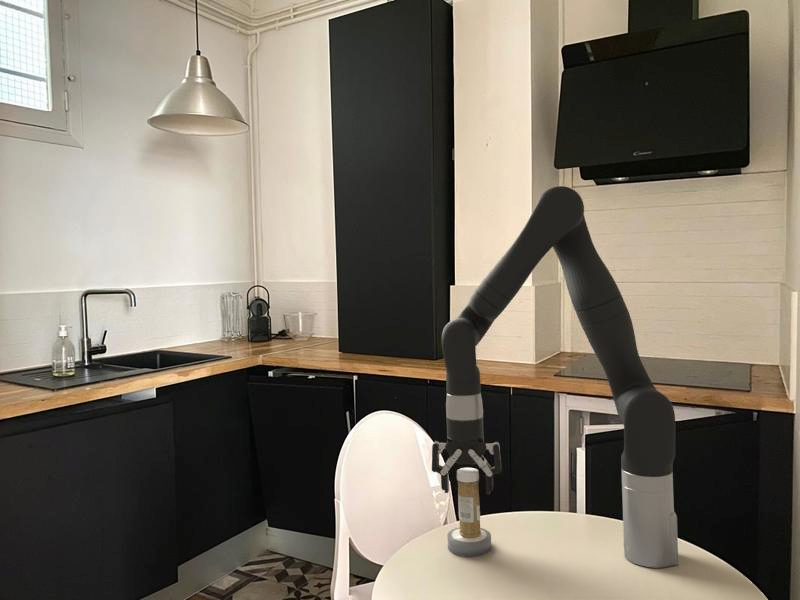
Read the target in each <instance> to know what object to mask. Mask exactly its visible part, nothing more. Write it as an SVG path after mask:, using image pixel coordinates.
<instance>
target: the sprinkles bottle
mask: <svg viewBox="0 0 800 600" xmlns="http://www.w3.org/2000/svg"><path fill="white" fill-rule="evenodd" d="M479 473H480V472H479V470H478V469H477V468H473V467H461V468H459V469H457V470H456V480H457V493H458V494H457V497H458V498H457V501H458V502H457V504H458V519H459V521H458V522H459V527H460V532H459V533H460V535H461V536H463V537H465V538H475V537H478V536H479V535H480V534H481V530H480V528H481V510H480V509H481V508H480V506H481V505H480V494H479V491H480V490H479V481H480V474H479Z"/></svg>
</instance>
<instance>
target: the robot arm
mask: <svg viewBox="0 0 800 600" xmlns="http://www.w3.org/2000/svg"><path fill="white" fill-rule="evenodd" d="M524 225H525V226H524V227H523V228H522V230H521V231H520V233H519V234H518V236H517V237H516V239H515V240H514V241H513V243H512V245H510V247H509V248H508V250H507V251H506V252H505V253H504V254H503V255H502V257H501V258H500V259H499V260H498V261H497V263H496V264H495V265H494V266H493V267H492V268H491V269H490V271H489V272H488V273H487V274H486V276H485V277H484V278H483V280H482V281H480V283H479V285H478V286H477V287H476V288H475V290H474V291H473V293H472V294H471V296H470V297H469V300H468V303H467V304H466V306H465V307H464V308H463V309H462V310H461V312H460V314H459V315H458V316H457V317H456V318H455V319H454V320H453V319H452V320H450V321H449V322H448V323H447V324H446V325H445V326H444V327H443V330H442V333H441V349H442V355H443V361H444V366H445V370H446V374H445V375H446V376H445V377H446V379H445V380H446V381H445V382H446V383H445V385H446V399H445V400H446V401H445V410H446V411H445V412H446V414H445V415H446V436H447V437H446V442H440V441H438V440H434V442H433V443H432V445H431V446H432V447H431V471H432V472H433V473H438V474H439V475H440V484H441V485H440V486H441V489H442V491H444V494H449V491H450V477H449V474H450V473H449V471H450V469H451V468H452V466H454V464H455V463H456V464H458V465H461V466H462V465H469V466H470V465H471V466H474V465H475V464H477V465H478V468H479V469H481V470H482V471H483V472H484V473H485V494H486V495H491V492H493V490H494V476H495V475H499V474H501V473H502V469H503V467H502V457H501V447H500V442H499V441H494V442H493V443H486V441H485V437H484V435H485V433H484V431H485V430H484V408H483V407H484V406H483V398H482V388H481V387H482V386H481V372H480V369H479V366H478V364H477V353H476V347H477V346H478V345H479V343H480V342H481V341H482V339H483V338H484V337H485V335H486V333H487V332H488V331H489V329H490V328H491V326H492V325H493V323H494V322H495V320H496V319H497V318H498V317H499V316H500V315H501V314H502V312H504V310H505V309H506V308H507V307H508V305H509V304H510V303H511V302H512V301H513V299H514V298H515V297H516V295H517V294H518V293H519V291H520V289H521V288H522V287H523V285H524V284H525V283H526V281H527V280H528V279H529V277H530V275H531V274H532V272H533V270H534V269H535V268H536V267H537V266H538V264H539V263H540V262H541V260H542V259H543V258H544V257H545V255H546V254H547V253H548V252H549V251H550V250H551V249H553V251H554V252H555V254H556V256H557V258H558V261H559V264H560V265H561V269H562V273H563V276H564V280H565V285H566V288H567V290H568V294H569V295H568V296H569V298H570V300H571V304H572V306H573V309H574V311H575V314H576V317H577V319H578V321H579V323H580V325H581V328H582V330H583V332H584V334H585V336H586V339H587V340H588V343H589V345H590V346H591V348H592V349H593V352H594V354H595V355H596V357H597V359H598V361H599V363H600V365H601V367H602V369H603V371H604V374H605V376H606V378H607V382H608V385H609V387H610V392H611V395H612V398H613V401H614V407H615V409H616V412H617V416H618V417H619V419H620V420H621V422H622V423H623V441H624V442H623V445H624V446H623V452H622V454H621V457H620V458H621V459H620V460H621V461H620V462H621V463H620V464H621V465H620V466H621V495H622V496H621V497H622V523H623V529H622V530H623V551H624V552H623V554H624V557H625V559H626V560H628V561H629V562H630V563H633V564H635V565H639V566H642V567H647V568H656V569H657V568H658V569H659V568H660V569H661V568H668V567H671V566H679V547H678V546H679V545H678V542H679V541H678V516H677V514H676V512H675V507H674V504H675V503H674V477H673V476H674V473H673V472H674V471H673V469H674V467H673V464H674V460H675V457H676V415H675V413H676V412H675V409H674V406H673V404H672V402H671V400H670V399H669V398H668V397H667V396H666V395H665V394H663V393H662V392H660V391H658V389H657V388H656V387H655V385H654V384H653V382H652V380H651V377H650V376H649V374H648V372H647V371H646V370H647V369H646V368H645V367H644V365H643V363H642V360H641V357H640V354H639V351H638V346H637V339H636V335H635V329H634V325H633V321H632V318H631V314H630V311H629V309H628V307H627V304H626V302H625V300H624V297H623V296H622V293H621V290H620V289H619V287H618V284H617V283H616V281H615V279H614V277H613V275H612V274H611V272H610V271H609V269H608V267H607V266H606V264H605V263H604V261H603V260H602V257H600V255H599V253H598V251H597V249H596V247H595V245H594V243H593V240H592V239H593V238H592V237H591V234H590V231H589V227H588V225H587V221H586V218H585V204H584V201H583V198H582V197H581V195H580V194H579V193H578V192H577V191H576V190H575V189H573V188H571V187H568V186H565V185H564V186H562V185H559V186H554V187H551V188H549V189H547V190H545V191H544V192H543V193H542V194H541V195H540V196H539V198H538V199H537V200H536V204H535V207H534V208H533V210H532V212H531V215H530V216H529V218H528V220H527V222H526V224H524ZM444 449H445V450H446V452H447V453H448V456H449V457H448V459H447V461H445V463H444V465H440V455H441V454H442V453H443V451H444ZM486 450H487V451H488V452H489V453H490V455H493V462H494V463H493V464H494V466H491V464H489V463H488V460H487V459H486V458H485V457H484V455H483V454H485V452H486Z"/></svg>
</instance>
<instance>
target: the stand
mask: <svg viewBox="0 0 800 600" xmlns="http://www.w3.org/2000/svg"><path fill="white" fill-rule="evenodd" d="M480 530H481V534H480V535H479V536H478V537H475V538H465V537H463V536H461V535H460V533H459V532H460V526H459V527H455V528H453V529H451V530H450V531H448V533H447V535H446V536H447V549H448V551H449V552H450V553H451V554H454V555H456V556H461V557H467V558H470V557H471V558H473V557H479V556H480V557H481V556H484V555H486V554H488V553H489V552H491V550H492V534H491V532H490V531H488V530H487V529H484V528H482V527H480Z"/></svg>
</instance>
